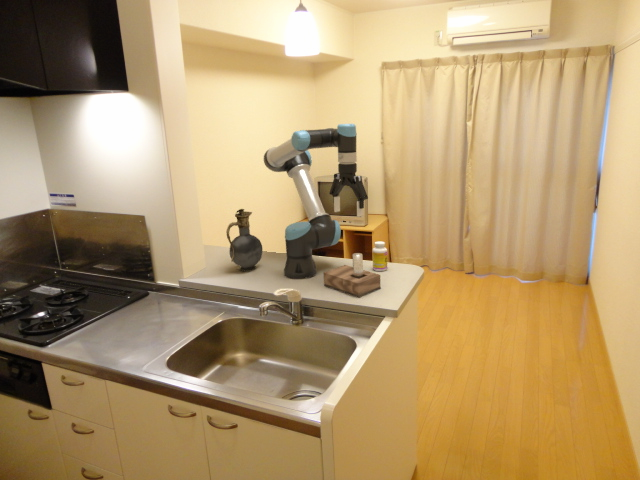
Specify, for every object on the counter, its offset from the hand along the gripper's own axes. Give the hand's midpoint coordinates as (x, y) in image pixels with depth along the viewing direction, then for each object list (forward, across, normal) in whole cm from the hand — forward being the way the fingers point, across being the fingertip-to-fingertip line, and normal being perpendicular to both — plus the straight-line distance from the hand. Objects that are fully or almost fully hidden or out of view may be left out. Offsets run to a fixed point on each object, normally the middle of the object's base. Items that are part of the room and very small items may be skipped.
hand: (348, 213), depth 190 cm
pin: (+28, +11, -6) cm, 31 cm away
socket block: (+29, +7, -6) cm, 31 cm away
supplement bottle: (+30, +1, +19) cm, 35 cm away
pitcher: (+31, -47, -24) cm, 61 cm away
